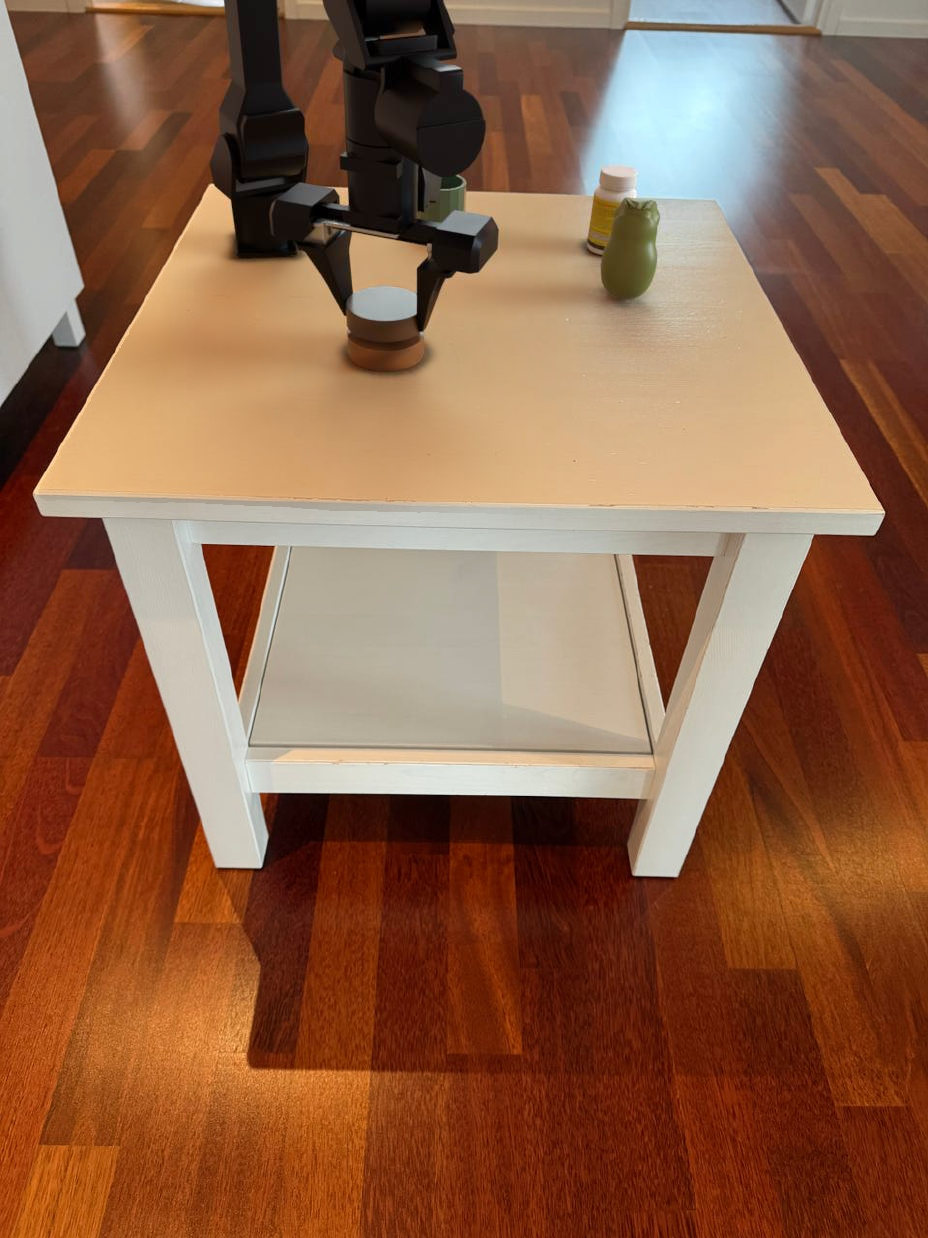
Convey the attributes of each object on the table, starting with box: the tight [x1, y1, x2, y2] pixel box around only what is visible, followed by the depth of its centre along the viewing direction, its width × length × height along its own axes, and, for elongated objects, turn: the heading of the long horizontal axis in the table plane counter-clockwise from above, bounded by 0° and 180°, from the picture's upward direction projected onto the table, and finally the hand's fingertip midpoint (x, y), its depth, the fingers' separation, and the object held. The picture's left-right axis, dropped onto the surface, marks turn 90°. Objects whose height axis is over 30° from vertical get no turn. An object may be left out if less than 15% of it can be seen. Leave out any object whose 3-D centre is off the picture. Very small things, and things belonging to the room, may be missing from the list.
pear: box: [600, 197, 661, 301], centre depth 92 cm, size 6×5×10 cm
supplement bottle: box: [586, 164, 639, 256], centre depth 101 cm, size 5×5×8 cm
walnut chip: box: [345, 285, 420, 342], centre depth 83 cm, size 7×7×2 cm
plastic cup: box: [418, 174, 468, 223], centre depth 105 cm, size 6×6×5 cm
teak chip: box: [346, 328, 425, 372], centre depth 84 cm, size 7×7×2 cm
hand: (385, 322), depth 83 cm, fingers closed on walnut chip, 7 cm apart
